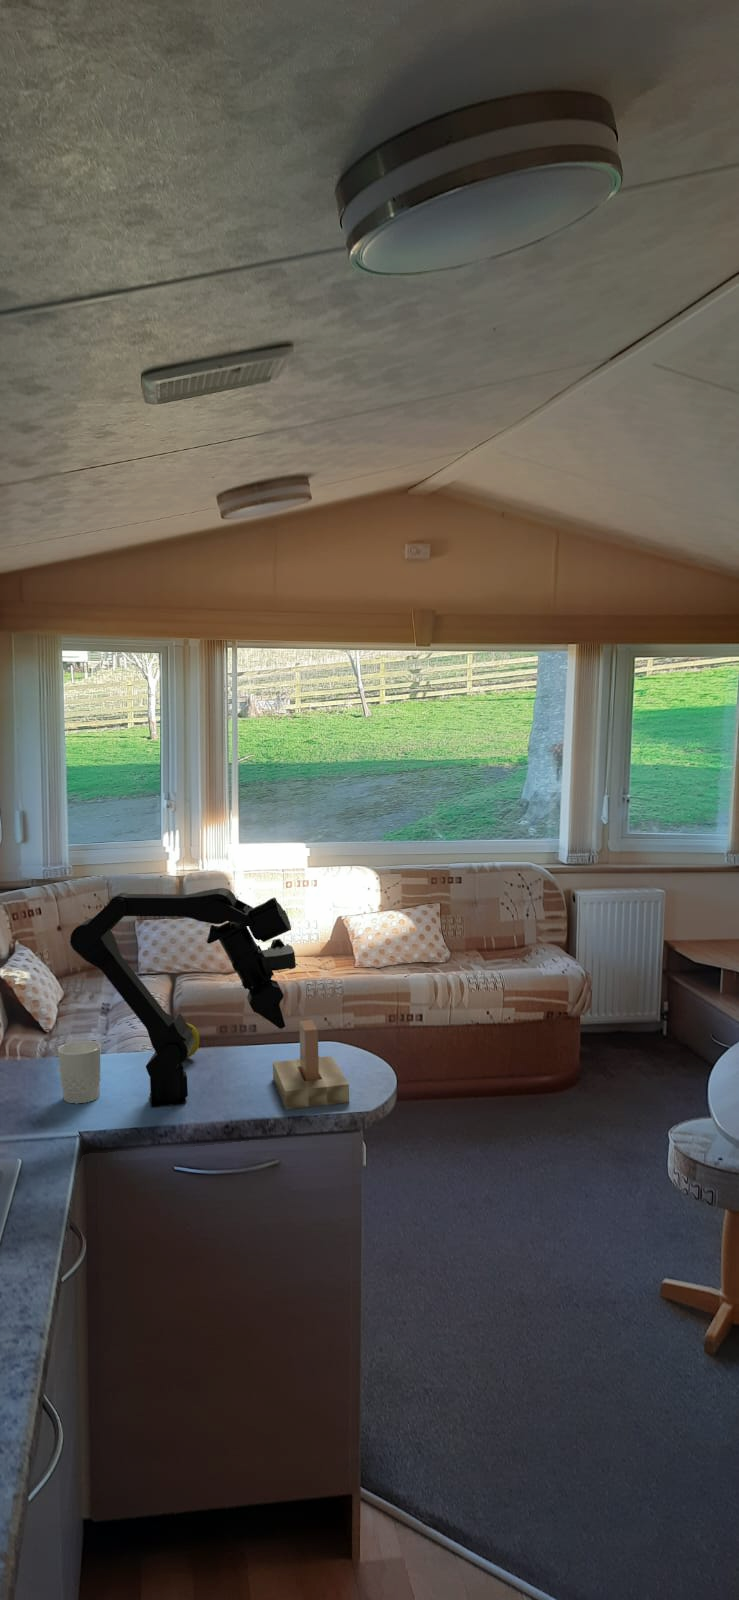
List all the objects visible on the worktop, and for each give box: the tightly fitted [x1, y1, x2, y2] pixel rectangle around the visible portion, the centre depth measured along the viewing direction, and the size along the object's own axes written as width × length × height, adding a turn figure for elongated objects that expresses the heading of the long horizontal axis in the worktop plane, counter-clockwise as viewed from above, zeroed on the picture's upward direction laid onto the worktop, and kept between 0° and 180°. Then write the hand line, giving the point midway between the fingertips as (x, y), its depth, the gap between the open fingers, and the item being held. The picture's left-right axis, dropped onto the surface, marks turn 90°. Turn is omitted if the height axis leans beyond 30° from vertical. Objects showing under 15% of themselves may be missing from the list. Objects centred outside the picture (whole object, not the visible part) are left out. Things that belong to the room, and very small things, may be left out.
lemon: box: [185, 1021, 200, 1060], centre depth 219 cm, size 6×6×8 cm
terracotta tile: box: [298, 1019, 319, 1081], centre depth 200 cm, size 2×6×13 cm, turn 14°
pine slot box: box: [272, 1055, 350, 1110], centre depth 200 cm, size 12×16×4 cm
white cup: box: [57, 1040, 102, 1104], centre depth 198 cm, size 8×8×10 cm
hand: (279, 1018), depth 199 cm, fingers open, 9 cm apart
